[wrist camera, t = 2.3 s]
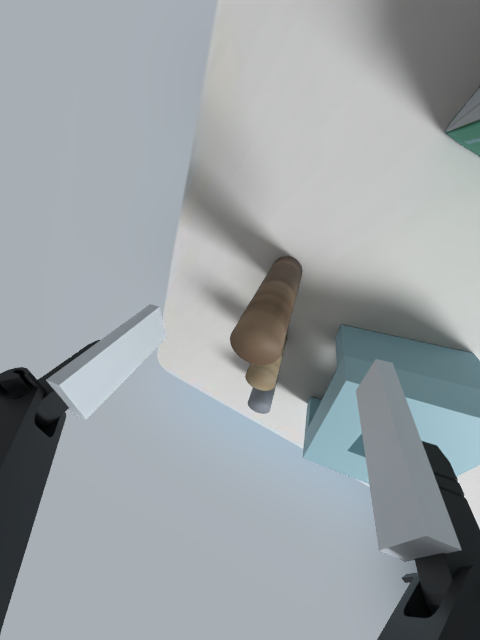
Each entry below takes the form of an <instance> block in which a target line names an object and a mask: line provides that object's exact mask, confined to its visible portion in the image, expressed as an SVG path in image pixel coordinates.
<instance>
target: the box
mask: <svg viewBox="0 0 480 640" xmlns="http://www.w3.org/2000/svg"><path fill="white" fill-rule="evenodd" d="M445 133H446V134H447V135H449V136H450V137H451V138H452V139H454V140H455V141H456V142H457V143H459V144H461V145H462V146H464V147H465V148H467V149H469V150H470V151H472V152H473V153H475V154H477V155H478V156H480V87H479V88H478V90H477V91H476V92H475V93H474V95H473V96H472V97H471V98H470V99H469V101H468V102H467V103H466V104H465V106H464V107H463V108H462V109H461V111H460V112H459V113H458V114H457V116H456V117H455V118H454V119H453V121H452V122H451V123H450V124H449V126H448V128H447V129H446V131H445Z"/></svg>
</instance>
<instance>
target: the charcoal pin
mask: <svg viewBox="0 0 480 640" xmlns="http://www.w3.org/2000/svg"><path fill="white" fill-rule="evenodd" d="M276 383H277V380H276ZM275 387H276V384H275ZM275 387H274V388H273V389H271V390H268V391H263V390H258V389H256V388H254V387H253V389H252V392H251V395H250V398H249V400H248V406H249V407H250V408H251V409H252V410H254V411H255V412H258V413H263V414H265V413H268V412H269V411H270V408H271V404H272V400H273V395H274V391H275Z"/></svg>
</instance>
